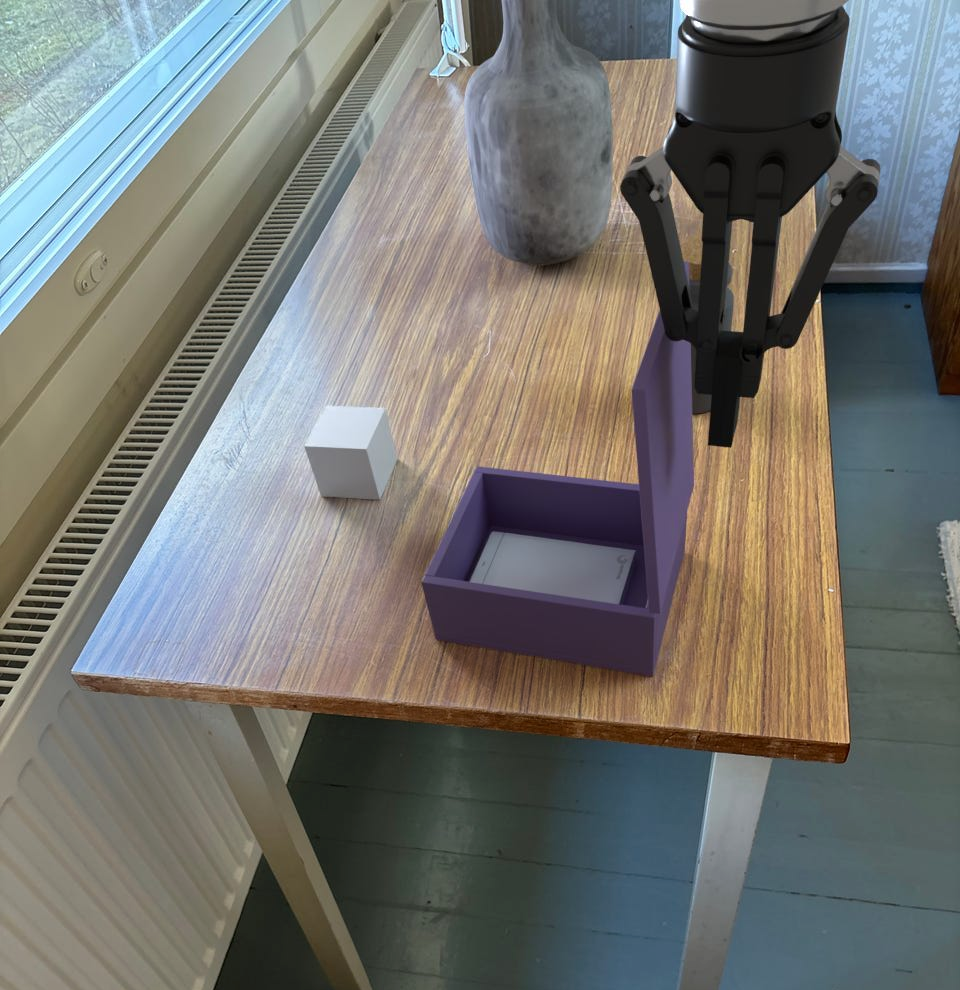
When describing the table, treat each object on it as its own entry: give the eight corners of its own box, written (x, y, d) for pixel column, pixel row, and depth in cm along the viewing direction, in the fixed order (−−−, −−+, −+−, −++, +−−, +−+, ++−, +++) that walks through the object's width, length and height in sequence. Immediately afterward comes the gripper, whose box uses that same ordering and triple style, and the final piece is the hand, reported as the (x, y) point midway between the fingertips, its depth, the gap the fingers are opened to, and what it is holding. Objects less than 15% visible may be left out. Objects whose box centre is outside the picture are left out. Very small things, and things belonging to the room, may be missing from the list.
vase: (496, 299, 107) (459, -4, 84) (470, 235, 118) (431, -50, 95) (631, 269, 108) (630, -41, 85) (593, 208, 118) (584, -82, 95)
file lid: (630, 389, 51) (645, 389, 51) (676, 261, 59) (688, 261, 59) (648, 613, 65) (660, 614, 65) (683, 484, 73) (694, 485, 72)
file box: (435, 640, 75) (420, 582, 70) (486, 525, 83) (476, 465, 78) (652, 677, 70) (654, 618, 65) (685, 551, 78) (688, 489, 73)
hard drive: (636, 548, 76) (491, 528, 79) (613, 623, 71) (460, 598, 74) (636, 562, 77) (494, 542, 80) (614, 637, 72) (463, 611, 76)
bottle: (723, 415, 89) (736, 267, 77) (660, 413, 90) (665, 267, 79) (727, 379, 92) (740, 232, 81) (667, 377, 94) (672, 232, 82)
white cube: (397, 458, 91) (385, 407, 86) (380, 500, 87) (366, 449, 83) (340, 455, 92) (325, 405, 88) (320, 496, 89) (303, 446, 84)
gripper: (922, -25, 42) (834, 407, 60) (637, -14, 46) (634, 389, 64) (916, 39, 38) (823, 483, 56) (601, 45, 42) (609, 459, 60)
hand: (722, 432), depth 60 cm, fingers closed
